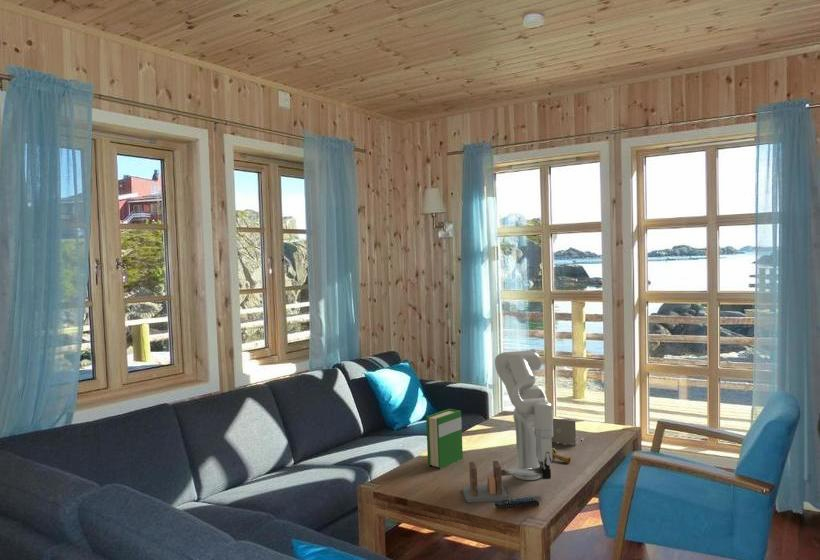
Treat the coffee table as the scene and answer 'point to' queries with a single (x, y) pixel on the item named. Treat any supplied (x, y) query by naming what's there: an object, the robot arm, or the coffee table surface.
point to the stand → (496, 475)
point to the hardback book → (444, 438)
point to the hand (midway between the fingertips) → (545, 475)
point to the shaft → (524, 471)
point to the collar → (491, 484)
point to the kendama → (560, 456)
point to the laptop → (564, 431)
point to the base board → (483, 494)
